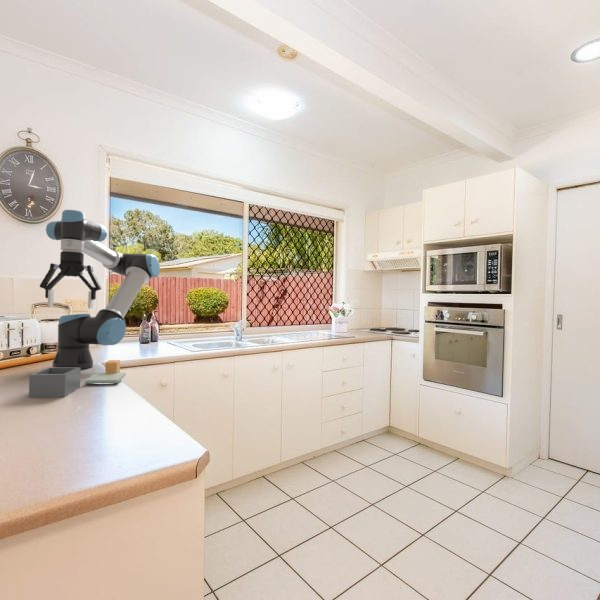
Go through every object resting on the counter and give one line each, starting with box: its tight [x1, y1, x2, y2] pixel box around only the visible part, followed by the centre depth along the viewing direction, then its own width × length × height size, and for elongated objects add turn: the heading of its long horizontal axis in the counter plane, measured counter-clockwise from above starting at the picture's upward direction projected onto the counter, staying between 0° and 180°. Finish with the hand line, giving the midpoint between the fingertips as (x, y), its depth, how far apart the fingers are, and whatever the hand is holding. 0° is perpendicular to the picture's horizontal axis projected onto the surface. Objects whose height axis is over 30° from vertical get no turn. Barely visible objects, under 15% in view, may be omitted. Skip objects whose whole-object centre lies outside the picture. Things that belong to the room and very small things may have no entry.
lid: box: [84, 359, 127, 384], centre depth 139 cm, size 18×11×6 cm, turn 14°
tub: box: [28, 366, 82, 398], centre depth 120 cm, size 12×10×7 cm
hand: (70, 307), depth 139 cm, fingers open, 13 cm apart
